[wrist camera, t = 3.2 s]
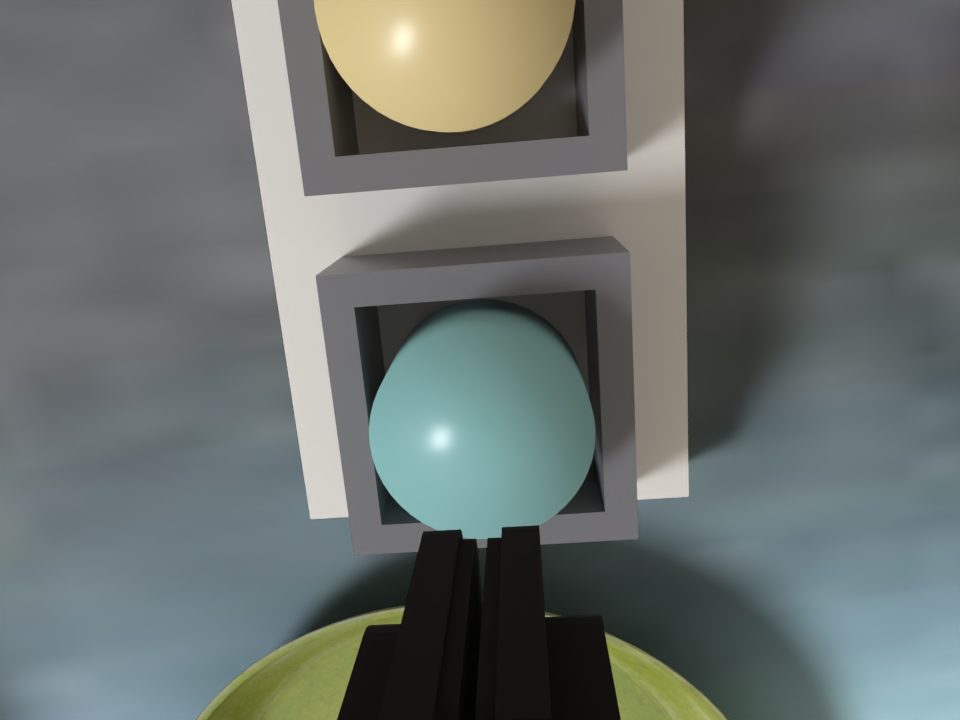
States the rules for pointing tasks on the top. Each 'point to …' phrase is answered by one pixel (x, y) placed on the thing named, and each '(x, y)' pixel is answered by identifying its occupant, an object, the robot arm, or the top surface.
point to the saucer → (333, 648)
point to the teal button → (482, 420)
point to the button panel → (481, 249)
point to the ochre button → (445, 56)
